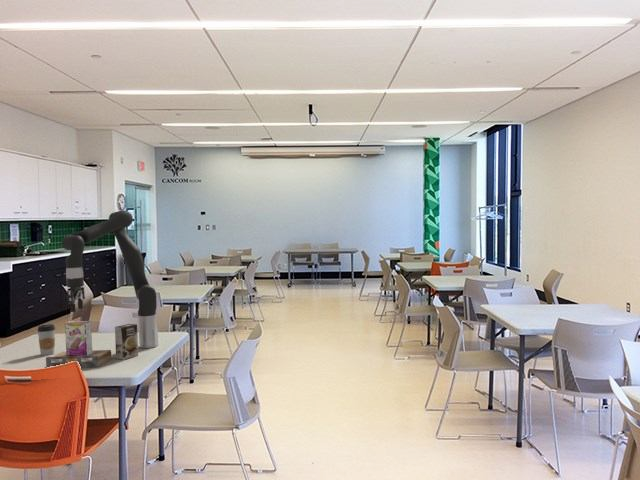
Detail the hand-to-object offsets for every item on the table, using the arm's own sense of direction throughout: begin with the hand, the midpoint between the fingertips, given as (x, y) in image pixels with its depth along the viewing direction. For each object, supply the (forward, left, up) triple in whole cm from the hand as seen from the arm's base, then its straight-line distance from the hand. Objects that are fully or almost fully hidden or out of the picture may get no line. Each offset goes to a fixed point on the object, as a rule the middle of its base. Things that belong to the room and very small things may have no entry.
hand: (76, 310), depth 258 cm
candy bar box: (0, 0, -22) cm, 22 cm away
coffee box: (-20, -9, -26) cm, 34 cm away
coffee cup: (+26, -22, -26) cm, 43 cm away
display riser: (0, -1, -26) cm, 26 cm away
